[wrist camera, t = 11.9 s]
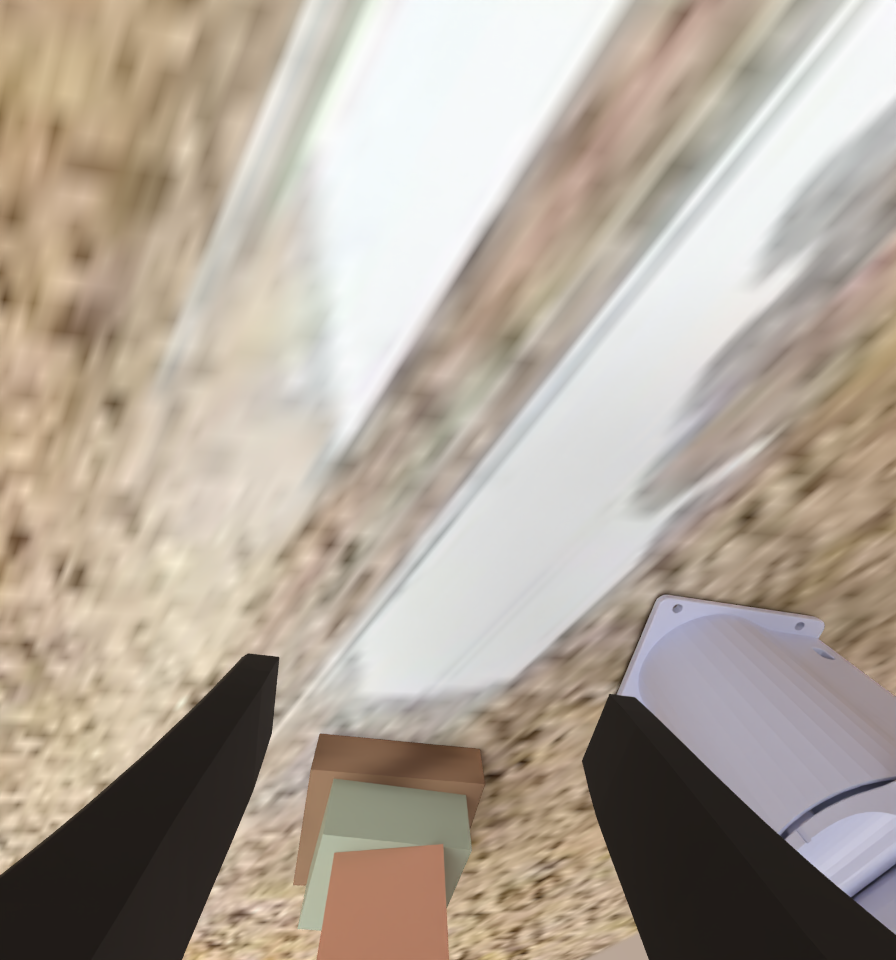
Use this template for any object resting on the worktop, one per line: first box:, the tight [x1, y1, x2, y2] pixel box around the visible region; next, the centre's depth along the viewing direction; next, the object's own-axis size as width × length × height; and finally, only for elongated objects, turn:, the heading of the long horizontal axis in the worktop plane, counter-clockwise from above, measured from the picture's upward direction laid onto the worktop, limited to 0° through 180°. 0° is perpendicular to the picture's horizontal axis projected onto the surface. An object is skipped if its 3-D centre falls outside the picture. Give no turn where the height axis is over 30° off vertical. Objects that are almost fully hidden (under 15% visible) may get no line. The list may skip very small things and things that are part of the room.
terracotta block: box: [317, 844, 449, 960], centre depth 17 cm, size 5×5×5 cm
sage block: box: [298, 779, 472, 930], centre depth 21 cm, size 7×7×2 cm
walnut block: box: [293, 734, 485, 885], centre depth 24 cm, size 9×9×2 cm
